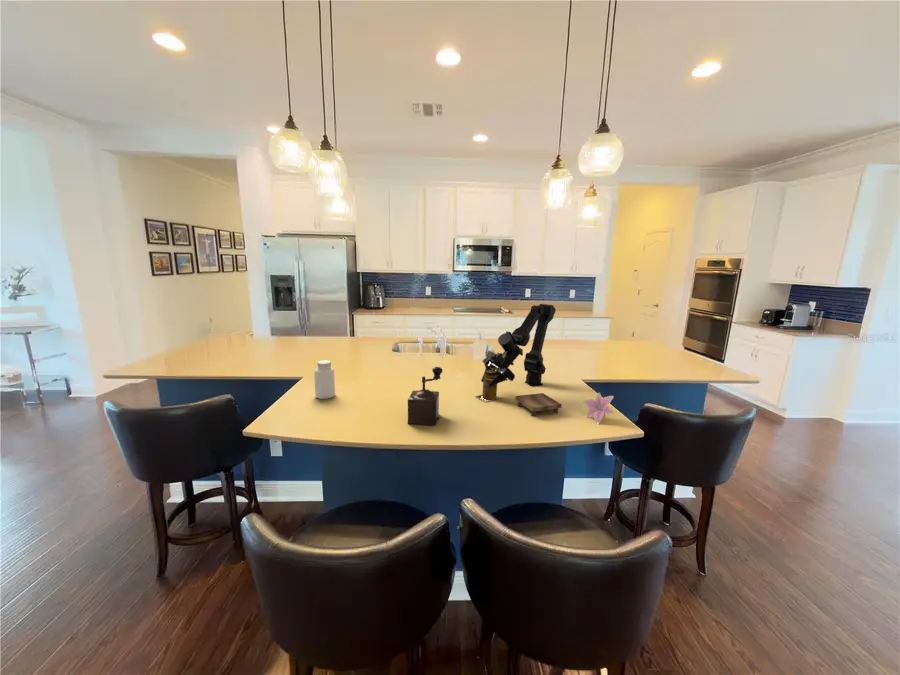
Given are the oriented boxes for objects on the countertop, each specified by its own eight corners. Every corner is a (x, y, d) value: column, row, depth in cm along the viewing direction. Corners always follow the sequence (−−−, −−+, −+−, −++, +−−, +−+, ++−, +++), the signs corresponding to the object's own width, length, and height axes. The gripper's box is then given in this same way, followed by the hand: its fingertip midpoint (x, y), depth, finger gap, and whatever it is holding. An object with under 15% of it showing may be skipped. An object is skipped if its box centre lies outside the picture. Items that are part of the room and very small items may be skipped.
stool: (541, 401, 157) (542, 392, 156) (560, 413, 145) (561, 404, 144) (514, 405, 153) (515, 396, 152) (532, 417, 141) (532, 407, 140)
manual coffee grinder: (437, 426, 131) (438, 378, 128) (406, 424, 132) (407, 376, 129) (442, 409, 147) (443, 365, 143) (414, 407, 147) (415, 364, 144)
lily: (581, 413, 150) (576, 395, 145) (610, 403, 148) (606, 385, 143) (593, 434, 139) (589, 416, 135) (624, 424, 138) (620, 406, 133)
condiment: (500, 398, 159) (502, 372, 157) (485, 402, 155) (486, 375, 152) (489, 393, 165) (491, 367, 163) (474, 397, 161) (475, 370, 158)
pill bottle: (339, 394, 159) (338, 360, 156) (325, 400, 152) (324, 365, 149) (325, 391, 162) (323, 358, 159) (311, 397, 155) (309, 362, 152)
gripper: (487, 340, 165) (464, 366, 163) (510, 349, 148) (485, 379, 146) (501, 355, 170) (479, 381, 168) (525, 366, 153) (501, 395, 151)
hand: (485, 383), depth 158 cm, fingers closed on condiment, 6 cm apart
